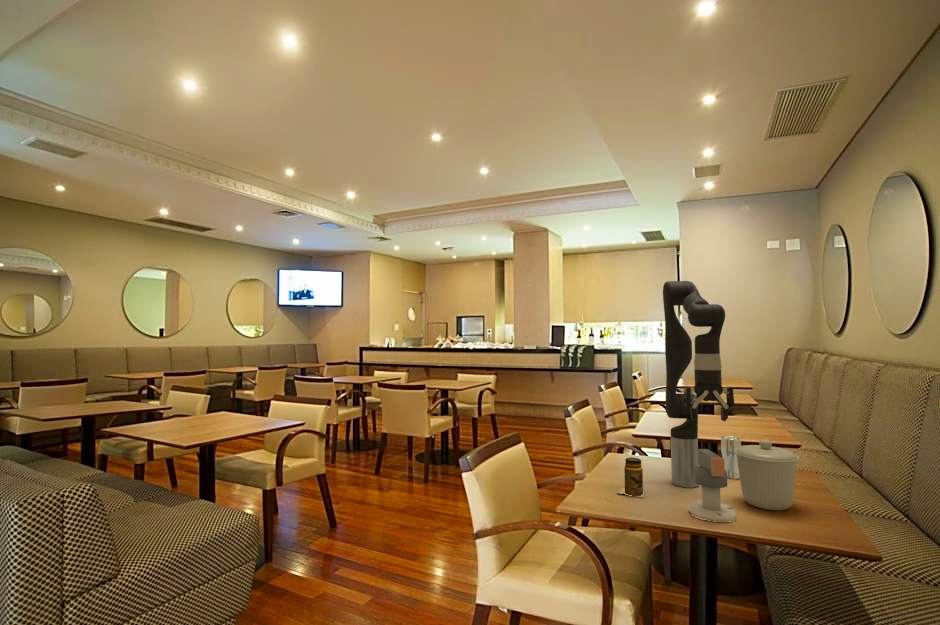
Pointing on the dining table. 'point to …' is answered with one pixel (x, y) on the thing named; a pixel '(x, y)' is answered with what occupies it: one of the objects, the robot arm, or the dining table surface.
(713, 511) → the post base
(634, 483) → the condiment
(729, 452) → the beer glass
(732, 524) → the dining table surface
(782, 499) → the canister
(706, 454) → the twist cap
